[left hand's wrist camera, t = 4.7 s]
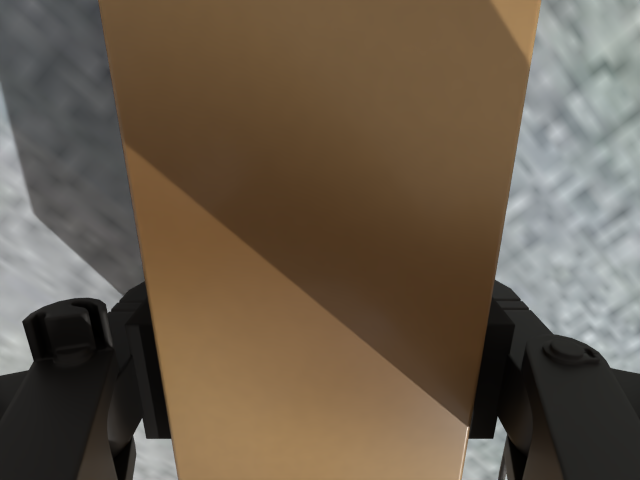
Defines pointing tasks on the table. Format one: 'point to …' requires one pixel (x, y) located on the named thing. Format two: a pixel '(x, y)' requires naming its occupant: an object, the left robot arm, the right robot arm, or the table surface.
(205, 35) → the bar
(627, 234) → the table surface
